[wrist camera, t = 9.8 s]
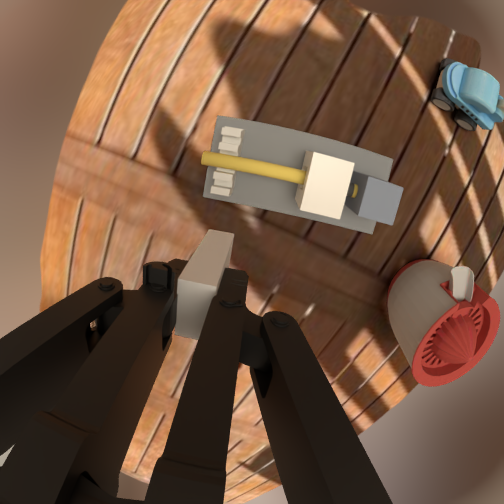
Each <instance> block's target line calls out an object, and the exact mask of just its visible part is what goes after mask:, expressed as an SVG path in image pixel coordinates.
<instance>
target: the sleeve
mask: <svg viewBox="0 0 504 504" xmlns="http://www.w3.org/2000/svg"><path fill="white" fill-rule="evenodd" d="M354 164H355V163H352V162H349V161H345V160H342V159H338V158H335V157H331V156H328V155H324V154H320V153H316V152H312V151H306V153H305V157H304V162H303V166H302V170H304V171H307V172H306V176H305V181H304V185H302V184H298V188H297V192H296V196H295V200H296V202H297V205H298V207H299V209H300V210H302V211H306V212H311V213H315V214H319V215H323V216H327V217H331V218H335V219H340V217H341V214H342V210H343V206H344V203H345V199H346V195H347V192H348V188H349V184H350V180H351V176H352V172H353V168H354Z"/></svg>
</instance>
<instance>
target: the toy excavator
mask: <svg viewBox="0 0 504 504" xmlns="http://www.w3.org/2000/svg"><path fill="white" fill-rule="evenodd" d="M439 70H440V72H441V73H440V77H439V80H438V84H437V87H436V89H434V90H433V92H432V96H431V102H432V103H433V104H435V105H437V106H438V107H440V108H441V109H443V110H445V111H450V112H451V111H454V107H456V108H457V109H458V110H457V112H456V115H455V118H454V119H455V122H457V123H458V125H459V126H460V127H462V128H464V129H465V130H469V131H475V130H476V127H477V124H478V125H479V126H480V127H481V128H482V129H487V130H491V129H492V128H493V126H494V122H502V121H503V118H504V98H503V97H502V96H500V95H499V88H500V85H499V83H498V81H497V80H496V79H495V78H494V77H493V76H492V75H490V74H489V73H487V72H485V71H483V70H480V69H477V68H469V67H467V66H466V65H463V64H462V63H459V62H456V61H454V60H452V59H448V58H446V59H444V60H442V62H441V65H440V68H439Z"/></svg>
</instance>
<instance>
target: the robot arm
mask: <svg viewBox="0 0 504 504" xmlns="http://www.w3.org/2000/svg"><path fill="white" fill-rule="evenodd" d="M233 239H234V234H233V233H227V232H222V231H217V230H211V229H209V230H208V232H207V233H206V235H205V237H204V238H203V240H202V241H201V243H200V244H199V246H198V247H197V249H196V251H195V252H194V254H193V255H192V257H191V258H190V260H189V261H185V260H180V259H174V260H172V261H169V262H168V263H165V262H158V261H157V262H149V263H146V264H145V265H143V285H142V286H141V287H140V288H139V290H123V284H122V283H121V281H119V280H118V279H115V278H111V277H105V278H100V279H97V280H95V281H93V282H91V283H90V284H88V285H86V286H85V287H83V288H81V289H79V290H78V291H76V292H74V293H73V294H71V295H69V296H68V297H66V298H64V299H63V300H61V301H59V302H58V303H56V304H54V305H53V306H51V307H49V308H48V309H46V310H44V311H43V312H41V313H40V314H38V315H37V316H35V317H33V318H32V319H30V320H29V321H27V322H25V323H24V324H22V325H21V326H19V327H18V328H16V329H15V330H13V331H11V332H10V333H8V334H7V335H5V336H4V337H2V338H1V339H0V456H1V455H2V454H4V453H5V452H6V451H7V450H8V449H10V448H11V447H12V446H13V445H14V444H15V445H14V447H13V448H12V450H11V452H10V453H9V455H8V457H7V459H6V460H5V462H4V464H3V466H1V467H0V504H223V501H224V492H225V484H226V460H227V452H228V444H229V436H230V428H231V420H232V412H233V404H234V396H235V388H236V380H237V372H238V364H239V362H240V363H243V364H245V365H248V366H250V374H251V378H252V382H253V385H254V389H255V393H256V396H257V400H258V404H259V407H260V411H261V414H262V418H263V421H264V425H265V428H266V432H267V435H268V439H269V442H270V446H271V449H272V453H273V456H274V459H275V463H276V466H277V469H278V473H279V476H280V479H281V482H282V485H283V489H284V492H285V495H286V498H287V501H288V504H393V503H392V501H391V499H390V497H389V495H388V494H387V492H386V490H385V488H384V486H383V484H382V482H381V480H380V478H379V476H378V474H377V473H376V471H375V469H374V467H373V465H372V463H371V461H370V459H369V457H368V455H367V453H366V451H365V449H364V447H363V446H362V444H361V442H360V440H359V438H358V436H357V434H356V432H355V430H354V428H353V426H352V425H351V423H350V421H349V419H348V417H347V415H346V413H345V411H344V409H343V408H342V406H341V404H340V402H339V400H338V398H337V396H336V394H335V392H334V391H333V389H332V387H331V385H330V383H329V381H328V379H327V377H326V375H325V374H324V372H323V370H322V368H321V366H320V364H319V362H318V360H317V359H316V357H315V355H314V353H313V351H312V349H311V347H310V345H309V344H308V342H307V340H306V338H305V336H304V334H303V332H302V330H301V329H300V327H299V325H298V323H297V321H296V320H295V319H294V318H293V317H292V316H290V315H289V314H286V313H284V312H278V311H272V312H268V313H265V314H264V316H263V317H261V316H258V315H256V314H254V313H252V312H251V311H249V310H248V309H247V307H246V304H245V301H246V293H247V285H248V277H249V276H248V275H247V274H246V272H245V271H241V270H236V269H231V268H229V263H230V257H231V251H232V245H233ZM94 320H95V323H96V326H95V327H93V328H91V327H90V323H91V322H92V321H94ZM174 327H175V335H178V336H182V337H187V338H191V339H196V340H198V343H197V346H196V349H195V352H194V355H193V358H192V361H191V364H190V367H189V371H188V374H187V377H186V380H185V383H184V386H183V390H182V393H181V396H180V399H179V403H178V406H177V409H176V412H175V416H174V419H173V422H172V425H171V429H170V432H169V435H168V439H167V442H166V446H165V449H164V452H163V454H162V456H161V457H160V458H158V460H157V462H156V464H155V467H154V470H153V473H152V476H151V480H150V483H149V486H148V490H147V493H146V497H145V500H144V501H139V500H131V499H123V498H117V497H116V496H117V493H118V487H119V485H118V484H119V479H118V478H119V473H120V470H121V467H122V464H123V461H124V459H125V456H126V453H127V451H128V448H129V445H130V443H131V440H132V438H133V435H134V432H135V430H136V427H137V425H138V422H139V419H140V417H141V414H142V412H143V409H144V407H145V404H146V402H147V399H148V397H149V394H150V392H151V390H152V387H153V385H154V382H155V380H156V377H157V375H158V373H159V370H160V368H161V365H162V363H163V361H164V358H165V356H166V354H167V351H168V349H169V347H170V344H171V342H172V331H173V329H174Z"/></svg>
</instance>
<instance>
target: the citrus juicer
mask: <svg viewBox="0 0 504 504" xmlns="http://www.w3.org/2000/svg"><path fill="white" fill-rule="evenodd" d="M387 310H388V314H389V320H390V324H391V327H392V330H393V332H394V335H395V337H396V339H397V341H398V343H399V345H400V347H401V349H402V351H403V353H404V355H405V357H406V358H407V360H408V362H409V364H410V366H411V368H412V374H413V377H414V378H415V380H416V381H417V382H418V383H420V384H422V385H425V386H440V385H444V384H447V383H449V382H452V381H454V380H456V379H458V378H459V377H461V376H462V375H464V374H465V373H467V372H468V371H469V370H470V369H472V368H473V367H474V366H475V365H476V364H477V363H478V362H479V361H480V360H481V359H482V357H483V356H484V355H485V353H486V352H487V351H488V349H489V348H490V346H491V344H492V343H493V341H494V338H495V336H496V334H497V330H498V328H499V322H500V311H499V307H498V304H497V303H496V301H495V300H494V299H492V298H491V297H490V296H489V295H488V294H487V293H485V292H484V291H483V290H482V289H481V288H480V287H479V286H478V285H476V284H475V283H474V274H473V272H472V270H471V269H470V268H468V267H466V266H457V267H454V268H453V267H451V266H449V265H447V264H444V263H441V262H438V261H435V260H430V259H420V260H415V261H412V262H410V263H408V264H407V265H405V266H404V267H403V268H401V269H400V270H399V271H398V272H397V274H396V275H395V276H394V278H393V279H392V281H391V283H390V286H389V289H388V293H387Z"/></svg>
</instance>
